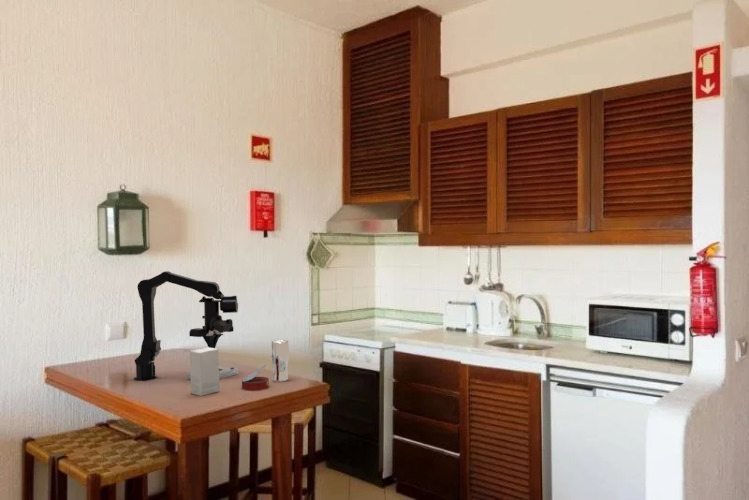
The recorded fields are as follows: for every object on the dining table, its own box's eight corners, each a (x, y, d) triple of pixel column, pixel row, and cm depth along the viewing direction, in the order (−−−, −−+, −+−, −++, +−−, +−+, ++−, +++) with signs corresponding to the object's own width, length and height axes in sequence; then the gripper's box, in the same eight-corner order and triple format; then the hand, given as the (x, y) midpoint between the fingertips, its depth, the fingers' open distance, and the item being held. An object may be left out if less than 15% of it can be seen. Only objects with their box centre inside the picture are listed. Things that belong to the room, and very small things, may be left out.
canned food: (259, 403, 216) (252, 381, 211) (239, 397, 221) (231, 376, 216) (278, 383, 224) (272, 362, 219) (258, 377, 229) (251, 357, 225)
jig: (207, 381, 231) (207, 374, 231) (186, 378, 237) (186, 371, 237) (237, 374, 244) (237, 367, 244) (217, 371, 251) (217, 364, 251)
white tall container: (285, 382, 228) (285, 343, 228) (268, 381, 229) (268, 342, 229) (291, 378, 235) (291, 340, 235) (275, 377, 236) (274, 340, 236)
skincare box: (209, 389, 218) (209, 346, 218) (220, 391, 214) (220, 348, 214) (189, 393, 212) (189, 350, 212) (200, 396, 207) (199, 351, 207)
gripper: (207, 316, 228) (208, 357, 228) (242, 311, 244) (243, 349, 244) (188, 315, 234) (188, 354, 234) (223, 310, 250) (224, 347, 250)
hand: (212, 351), depth 241 cm, fingers closed
